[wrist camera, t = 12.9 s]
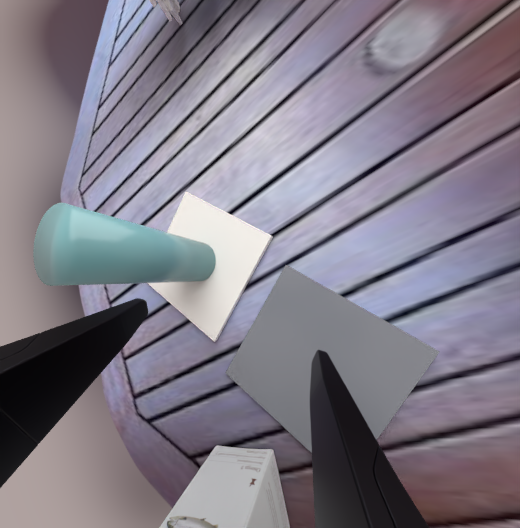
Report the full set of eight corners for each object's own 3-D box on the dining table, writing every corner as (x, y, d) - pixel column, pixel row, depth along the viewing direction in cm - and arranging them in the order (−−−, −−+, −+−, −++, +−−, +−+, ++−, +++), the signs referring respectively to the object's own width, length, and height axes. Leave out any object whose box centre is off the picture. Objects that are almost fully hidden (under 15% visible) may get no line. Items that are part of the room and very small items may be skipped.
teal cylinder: (210, 286, 22) (66, 296, 10) (179, 275, 24) (26, 273, 12) (220, 246, 22) (87, 208, 10) (188, 239, 24) (44, 198, 12)
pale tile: (217, 340, 22) (214, 341, 21) (148, 280, 27) (144, 280, 26) (273, 236, 20) (271, 235, 20) (189, 193, 25) (186, 191, 25)
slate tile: (344, 477, 16) (345, 484, 16) (228, 370, 21) (225, 372, 21) (435, 348, 15) (439, 351, 14) (287, 265, 20) (286, 265, 19)
